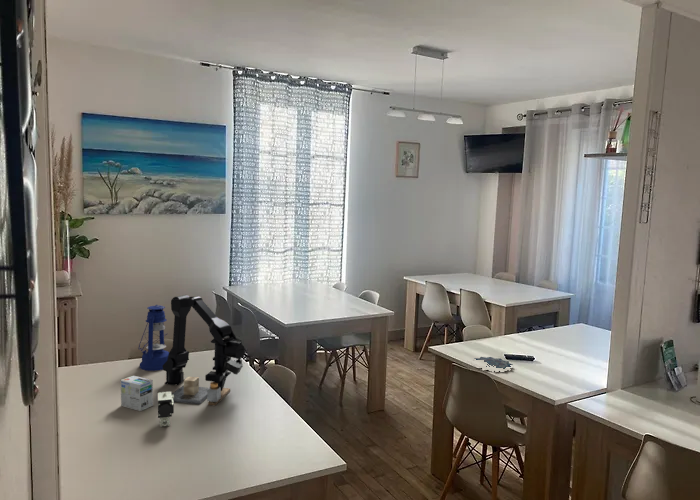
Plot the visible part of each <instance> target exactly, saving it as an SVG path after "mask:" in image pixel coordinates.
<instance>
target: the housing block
mask: <svg viewBox="0 0 700 500" xmlns="http://www.w3.org/2000/svg"><path fill="white" fill-rule="evenodd" d="M199 381H200V376H199V377H196V376H187V377H185V379H184V381H183V385H184V394H186V395H195V394H196V393H197V392H198V391H199V387H200V382H199Z"/></svg>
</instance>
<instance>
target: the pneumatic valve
mask: <svg viewBox="0 0 700 500" xmlns="http://www.w3.org/2000/svg"><path fill="white" fill-rule="evenodd" d="M171 394H172V390H167V391H158V392H157V418H158V419H159V427H160V428H162V427H169V426H170V425H171V423H170V422H171V421H170V419H171V417H173V415H174V414H175V411H174V408H175V405H174V403H175V402H173V398H174V395H171Z"/></svg>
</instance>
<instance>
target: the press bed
mask: <svg viewBox="0 0 700 500" xmlns="http://www.w3.org/2000/svg"><path fill="white" fill-rule="evenodd" d="M208 388H209V387H205V386H199V391H198V392H197V393H196V394H195V395H186V394H184V384H183V385H181V387H179V388H178V389H177V390H175V391H174V392H173V393H171V395H174V398H173V403H184V404H192V405H194V404H195V405H201V404H202V403H203V402H204V401H206V400H207V389H208ZM230 392H231V388H227V387H223V390H222V391H221V398H220V399H219V400H218V401H217V402H211V401H207V406H217V405H218V404H219V403H220V402H221V401H222V400H223V399H224V398H225V397H226V396H227V395H228V394H229V393H230Z"/></svg>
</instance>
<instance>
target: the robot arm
mask: <svg viewBox="0 0 700 500" xmlns="http://www.w3.org/2000/svg"><path fill="white" fill-rule="evenodd" d="M170 307H171V312H172V314H173V316H174V318H173V321H174V322H173V335H172V336H173V337H172V347H171V349H170V351H168V352H169V354H168V359H167V361H166V362H165V364H164V365H163V366H162V367H163V370H162V371H164V372H165V373H166V374H165V382H164V385H171V386H179V385H180V384H182V383H184V380H185V379H184V377H185V376H184V375H185V374H184V370H183V368H184V369H185V368H186V366H187V364H188V362H189V360H190V359H189V356H190V352H189V351H187V349H186V347H185V345H186V343H185V342H186V330H187V317H188V314H189V313H190V312H191V309H192V308H193V309H194V311H195V312H196V313H197V314H198V316H200V318H201V319H202V320H203V321H204V322H205V324H206V325H207V326H208V328H209V329H208V330H209V333H210V334H211V336H212V337H213V339H211V340H210V343H212V344H214V356H213V357H212V361H214V364H213V365H214V366H212V370H211V371H208V373H206V374H205V376H204V377H205V379H204V380H205V382H218V386H221V391H222V390H223V388H225V384H226V380H227V378H228V376H229V375H232V374H233V375H238V374H239V373H241V370H242V368H243V366H244V365H243V360H242V358H243V357H244V356H245V353H246V348H245V346H244V345H243V342H242V341H237V338H236V335H235V333H234V331H233V329H232V326H231V325H230V324H229V323H228V322H226V320H224V319H221V318H219V317H218V315H216V313H214V312H213V310H212V309H211V308H210V307H209V306H208V304H206V303H205V302H204V300H203V298H202V297H201V296H198V295H197V296H189V295H188V294H182V295H178V296H177V295H176V296H174V297H173V298H171V300H170ZM232 358H233V359H234V360H233V359H232ZM231 373H232V374H231Z"/></svg>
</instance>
